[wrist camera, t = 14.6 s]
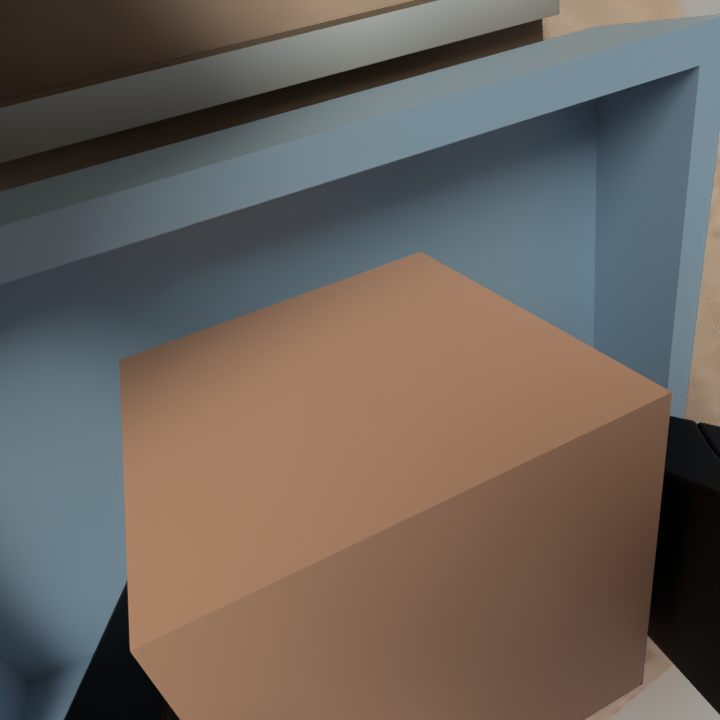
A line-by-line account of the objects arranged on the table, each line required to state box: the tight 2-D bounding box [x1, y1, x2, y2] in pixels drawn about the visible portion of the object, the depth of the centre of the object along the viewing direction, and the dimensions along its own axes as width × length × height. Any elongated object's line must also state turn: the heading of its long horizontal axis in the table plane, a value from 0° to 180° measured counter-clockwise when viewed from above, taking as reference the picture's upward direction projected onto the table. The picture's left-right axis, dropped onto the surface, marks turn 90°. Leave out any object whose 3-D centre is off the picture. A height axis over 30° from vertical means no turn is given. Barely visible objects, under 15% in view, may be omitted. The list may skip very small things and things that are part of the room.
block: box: [119, 252, 672, 720], centre depth 8 cm, size 5×5×5 cm
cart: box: [0, 14, 720, 720], centre depth 11 cm, size 10×16×5 cm, turn 103°
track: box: [0, 0, 559, 192], centre depth 12 cm, size 12×29×2 cm, turn 103°
